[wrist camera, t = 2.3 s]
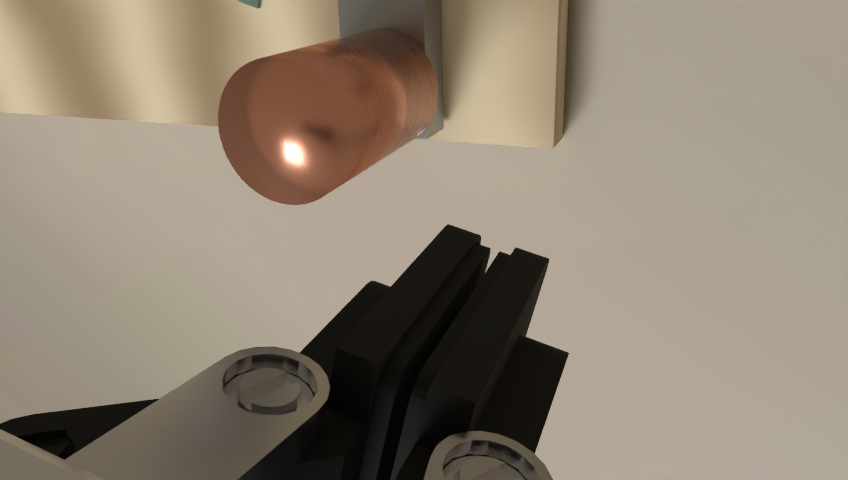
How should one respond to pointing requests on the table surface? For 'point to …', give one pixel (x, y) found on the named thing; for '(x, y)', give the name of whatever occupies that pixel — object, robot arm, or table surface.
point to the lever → (336, 101)
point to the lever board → (264, 36)
